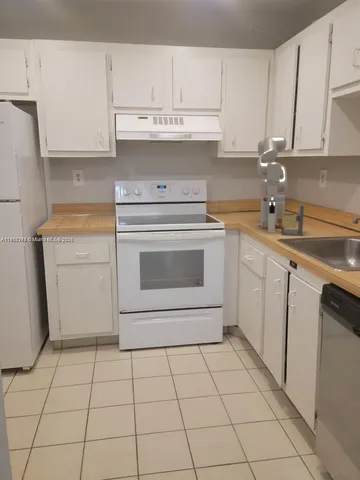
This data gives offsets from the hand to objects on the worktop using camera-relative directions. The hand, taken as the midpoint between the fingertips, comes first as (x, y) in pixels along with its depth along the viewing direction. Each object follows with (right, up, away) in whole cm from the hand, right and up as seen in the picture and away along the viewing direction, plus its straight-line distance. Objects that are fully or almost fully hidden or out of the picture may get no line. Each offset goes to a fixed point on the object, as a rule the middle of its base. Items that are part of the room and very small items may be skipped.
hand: (272, 212), depth 219 cm
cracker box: (+5, -9, +20) cm, 22 cm away
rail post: (0, -12, +3) cm, 12 cm away
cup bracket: (+11, -12, -1) cm, 17 cm away
